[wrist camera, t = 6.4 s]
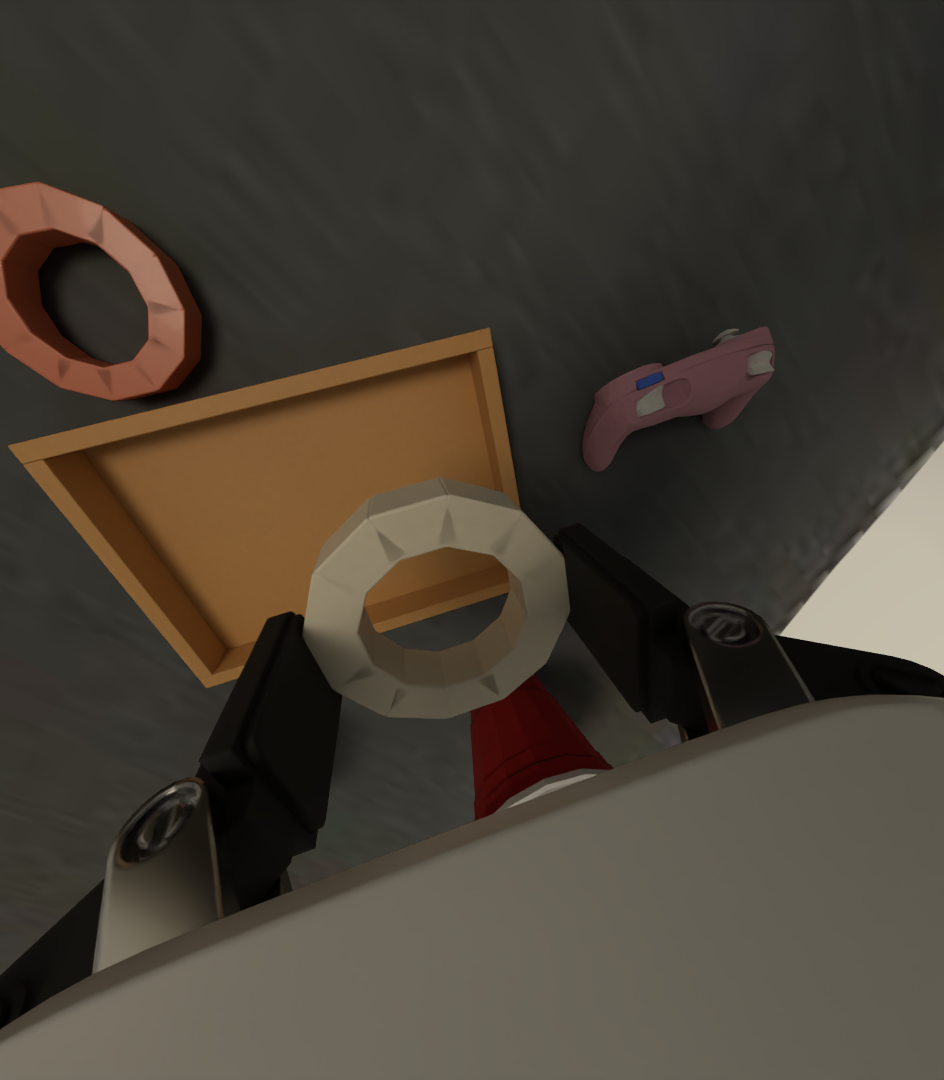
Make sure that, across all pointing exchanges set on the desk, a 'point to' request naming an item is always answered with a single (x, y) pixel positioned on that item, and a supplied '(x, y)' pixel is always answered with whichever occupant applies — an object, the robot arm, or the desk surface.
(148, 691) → the desk surface
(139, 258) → the terracotta ring
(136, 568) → the tray
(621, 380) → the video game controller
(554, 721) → the plastic cup
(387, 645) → the cream ring
